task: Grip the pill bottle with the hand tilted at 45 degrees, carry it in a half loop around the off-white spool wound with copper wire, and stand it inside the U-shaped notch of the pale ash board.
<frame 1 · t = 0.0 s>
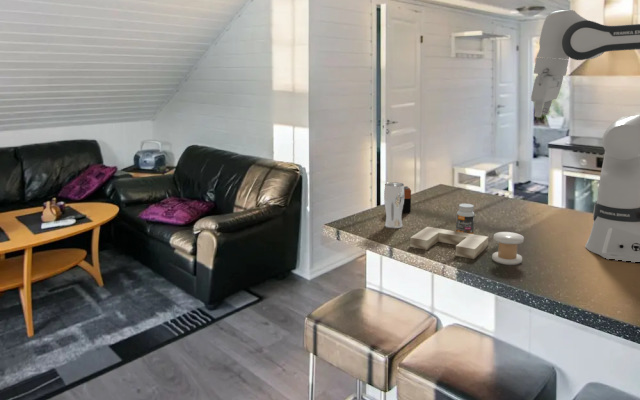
hand: (541, 115, 153), 39 cm above the countertop, tool pointing down, fingers open, 8 cm apart
pill bottle: (464, 234, 167), on the countertop
spool: (506, 259, 145), on the countertop
beer glass: (393, 226, 178), on the countertop
notched board: (448, 246, 156), on the countertop
battery: (400, 212, 195), on the countertop
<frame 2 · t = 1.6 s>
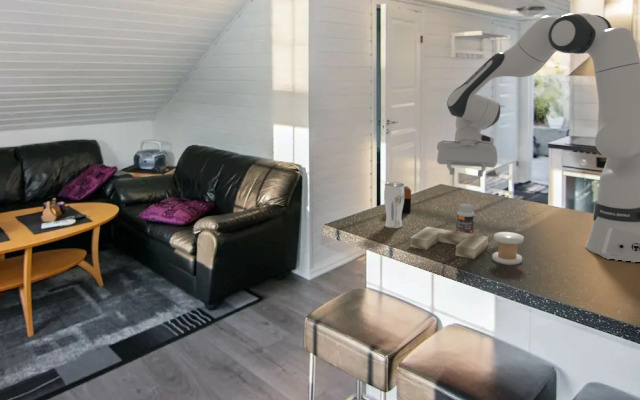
hand: (466, 174, 174), 18 cm above the countertop, tool tilted 45°, fingers open, 8 cm apart
nothing on the countertop moved.
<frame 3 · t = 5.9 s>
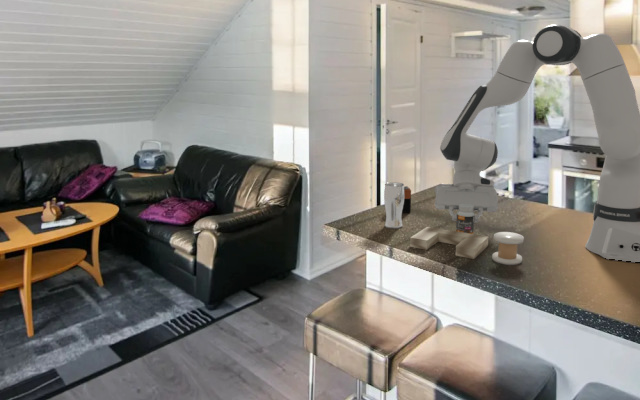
hand: (465, 220, 166), 5 cm above the countertop, tool tilted 45°, fingers closed on pill bottle, 6 cm apart
pill bottle: (464, 234, 167), on the countertop, touching gripper
everything else where it was.
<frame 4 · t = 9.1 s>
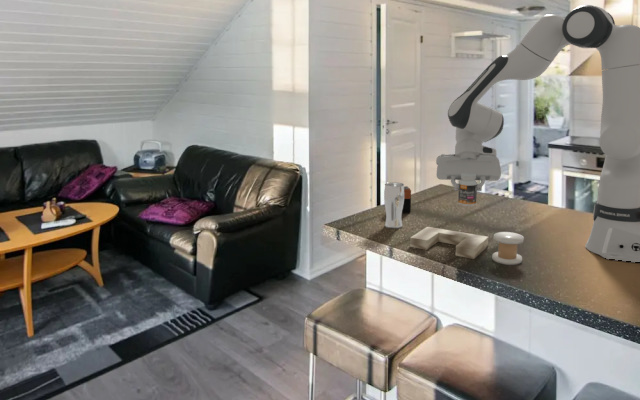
hand: (467, 189, 163), 15 cm above the countertop, tool tilted 45°, fingers closed on pill bottle, 6 cm apart
pill bottle: (467, 204, 165), point 10 cm above the countertop, touching gripper
everything else where it was.
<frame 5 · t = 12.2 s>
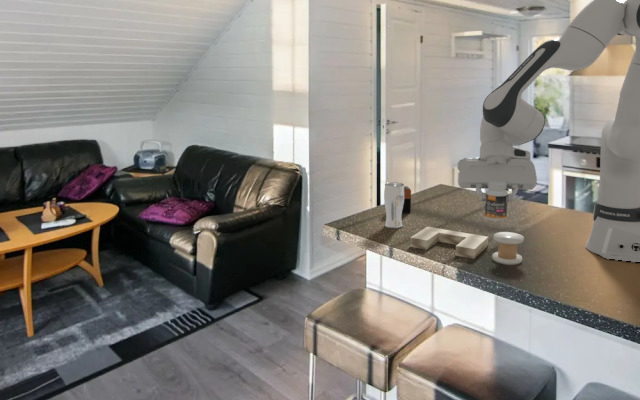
hand: (496, 200, 136), 19 cm above the countertop, tool tilted 45°, fingers closed on pill bottle, 6 cm apart
pill bottle: (495, 219, 137), point 13 cm above the countertop, touching gripper
everything else where it was.
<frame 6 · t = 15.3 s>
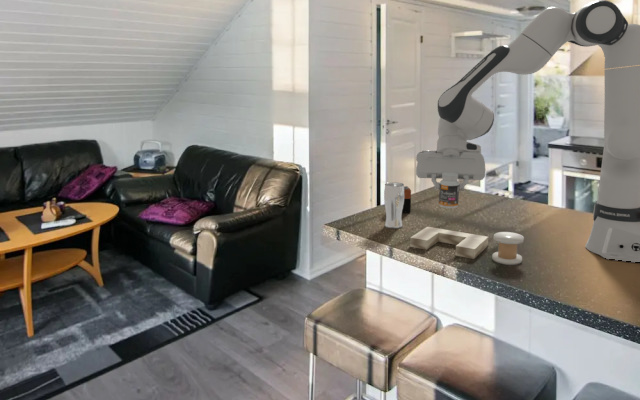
hand: (449, 189, 149), 19 cm above the countertop, tool tilted 45°, fingers closed on pill bottle, 6 cm apart
pill bottle: (448, 206, 151), point 13 cm above the countertop, touching gripper
everything else where it was.
when the fingers open (6 cm above the countertop, at t = 18.4 s): pill bottle stays where it is, on the countertop.
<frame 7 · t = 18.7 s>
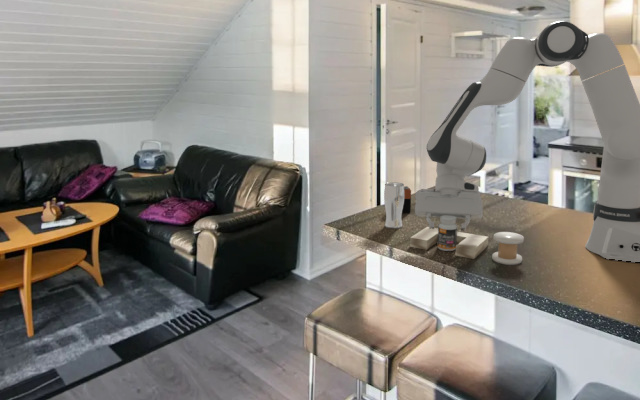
hand: (447, 229, 153), 6 cm above the countertop, tool tilted 45°, fingers open, 8 cm apart
pill bottle: (446, 249, 155), on the countertop
everything else where it was.
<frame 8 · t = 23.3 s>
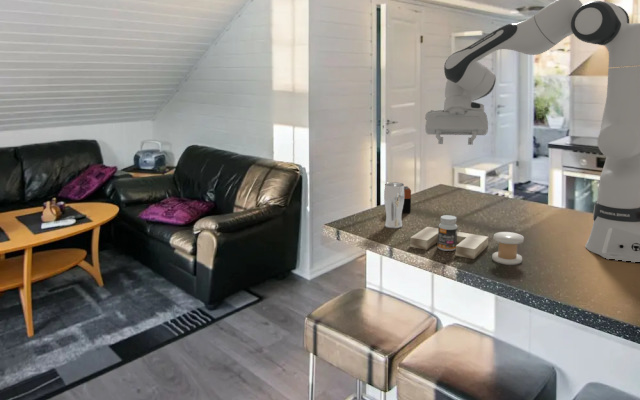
hand: (455, 143, 166), 29 cm above the countertop, tool tilted 45°, fingers open, 8 cm apart
nothing on the countertop moved.
at the end: pill bottle 0.1 cm from the target spot, on the countertop; pill bottle tilted 0°; the gripper is holding nothing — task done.
